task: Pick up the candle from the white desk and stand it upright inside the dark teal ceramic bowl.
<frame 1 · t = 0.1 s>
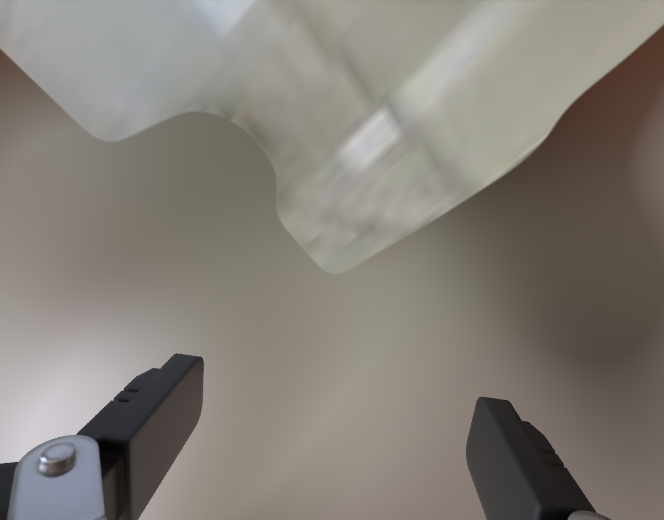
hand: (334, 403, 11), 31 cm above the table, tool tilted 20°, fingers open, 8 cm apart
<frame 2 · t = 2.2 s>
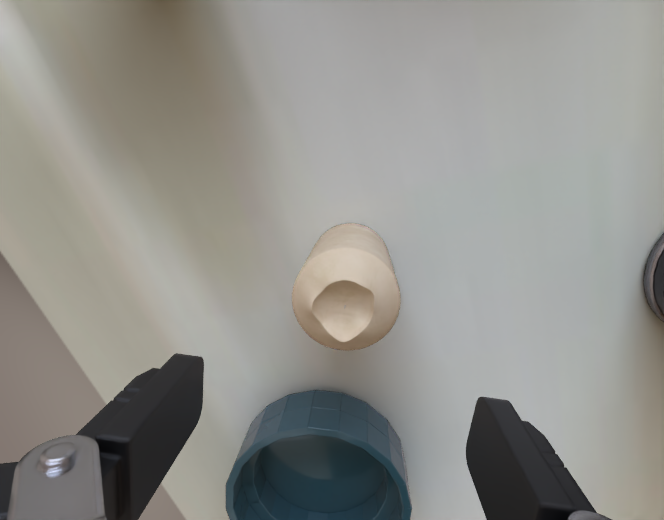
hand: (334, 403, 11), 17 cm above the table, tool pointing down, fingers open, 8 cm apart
bowl: (323, 456, 32), on the table
candle: (350, 259, 28), on the table
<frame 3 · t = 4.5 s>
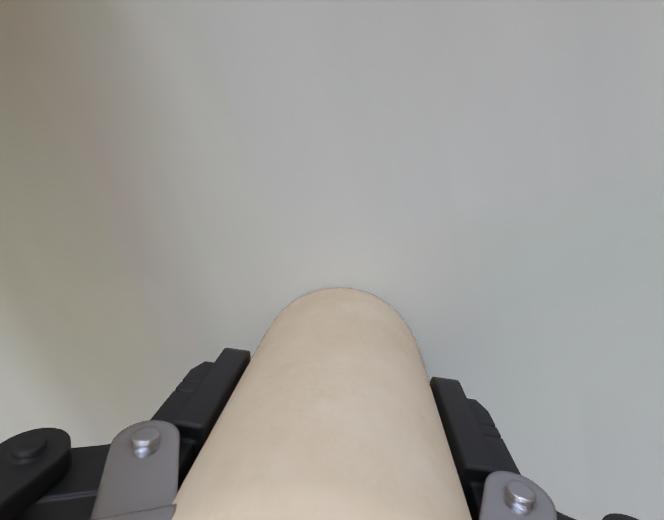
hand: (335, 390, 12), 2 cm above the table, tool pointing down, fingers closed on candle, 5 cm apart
candle: (340, 356, 14), on the table, touching gripper
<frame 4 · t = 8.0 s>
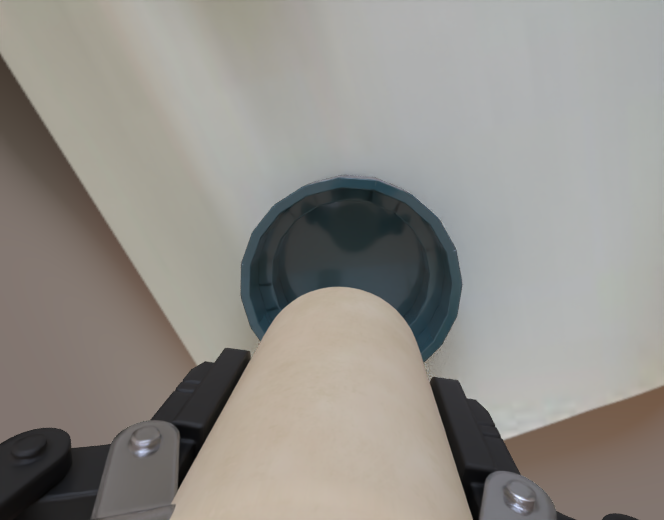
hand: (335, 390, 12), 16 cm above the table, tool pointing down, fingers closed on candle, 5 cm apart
bowl: (350, 268, 28), on the table
candle: (340, 355, 14), point 14 cm above the table, touching gripper
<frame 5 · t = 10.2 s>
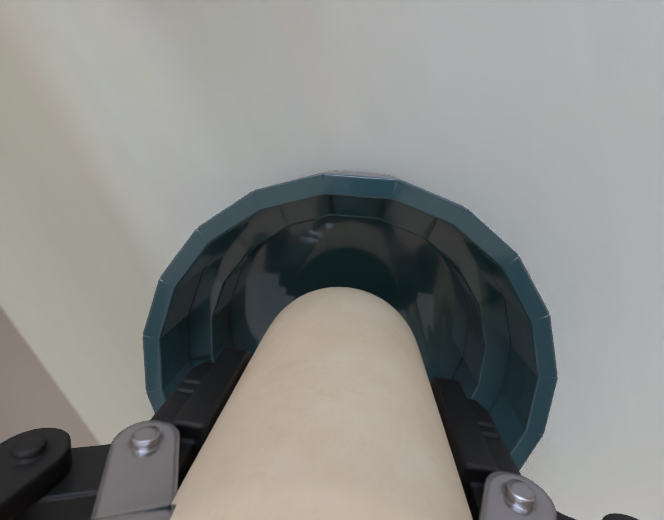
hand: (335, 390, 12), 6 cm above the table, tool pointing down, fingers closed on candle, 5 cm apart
bowl: (347, 322, 17), on the table
candle: (340, 355, 14), point 3 cm above the table, touching gripper
when the fingers open (3 cm above the table, at t = 11.6 s): candle stays where it is, resting on bowl.
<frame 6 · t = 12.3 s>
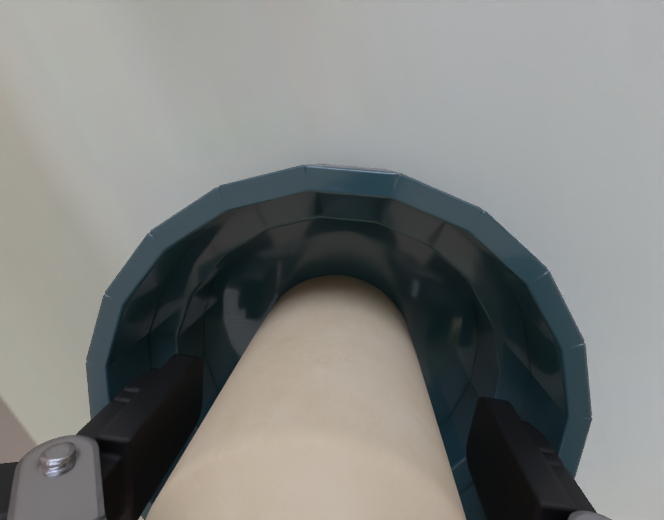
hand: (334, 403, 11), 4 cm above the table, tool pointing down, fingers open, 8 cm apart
bowl: (337, 339, 15), on the table
candle: (335, 340, 15), resting on bowl
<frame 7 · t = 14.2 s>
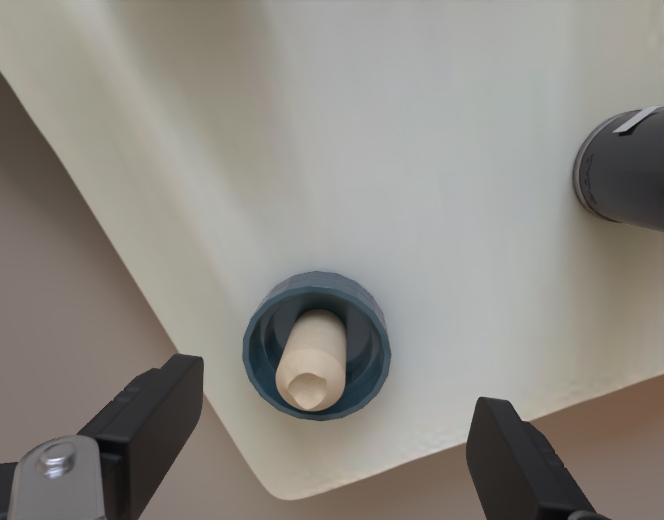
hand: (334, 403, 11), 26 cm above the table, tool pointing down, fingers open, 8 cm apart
bowl: (320, 332, 39), on the table
candle: (319, 332, 39), resting on bowl
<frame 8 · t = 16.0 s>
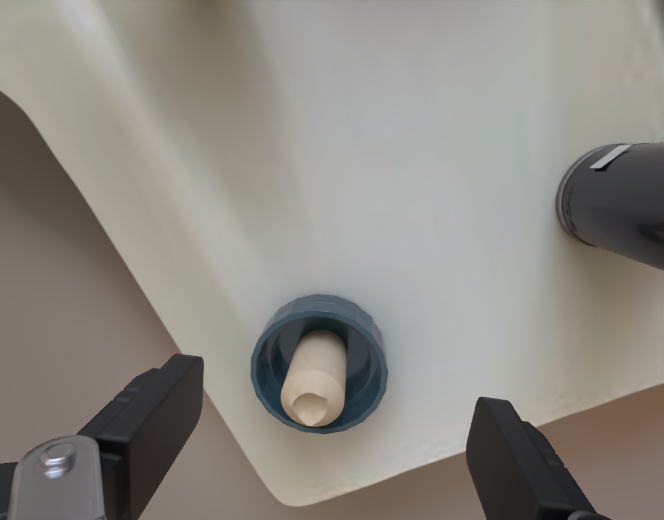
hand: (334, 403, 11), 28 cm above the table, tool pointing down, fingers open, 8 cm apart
bowl: (322, 350, 42), on the table
candle: (322, 350, 41), resting on bowl
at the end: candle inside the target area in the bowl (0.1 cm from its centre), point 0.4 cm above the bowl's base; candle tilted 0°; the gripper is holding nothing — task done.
